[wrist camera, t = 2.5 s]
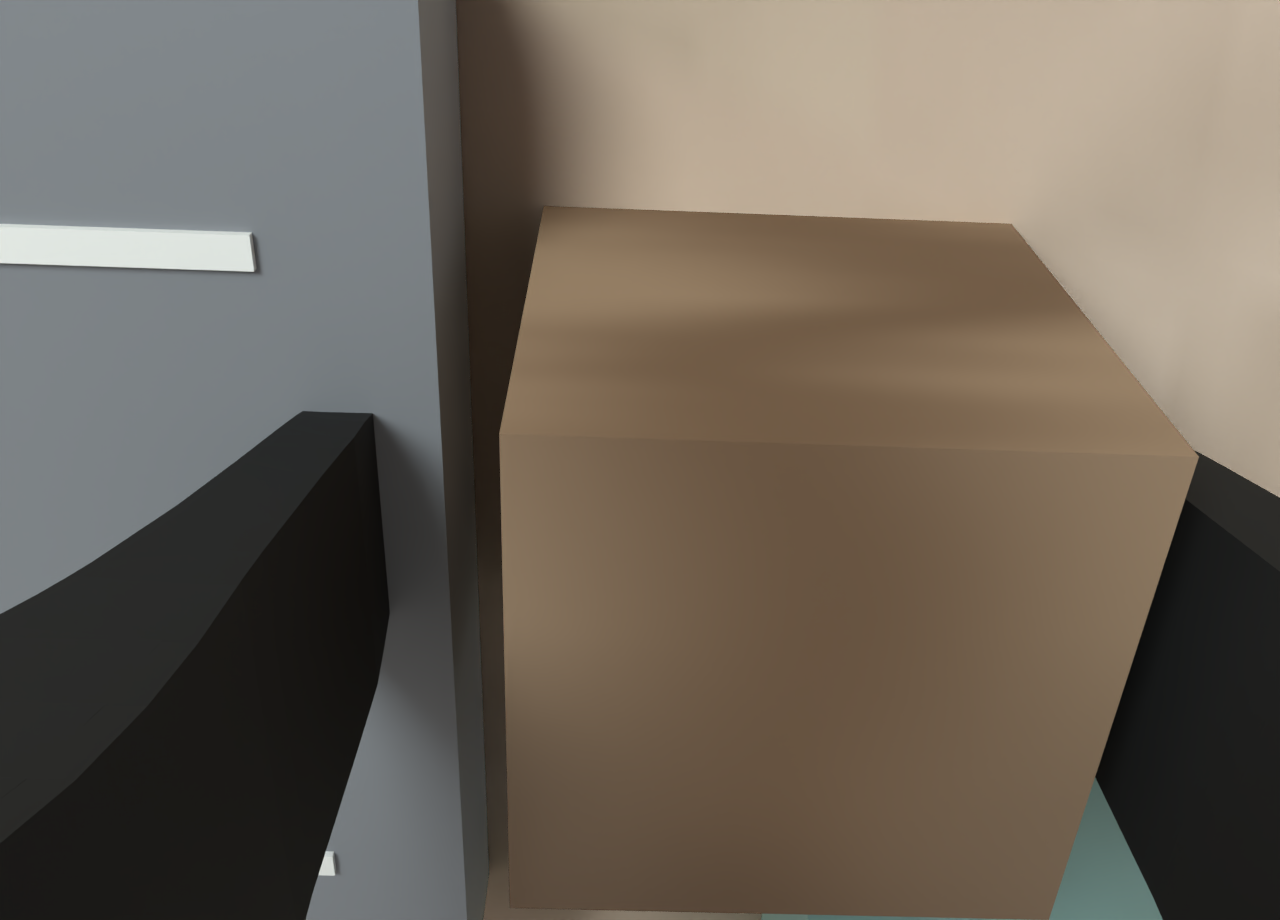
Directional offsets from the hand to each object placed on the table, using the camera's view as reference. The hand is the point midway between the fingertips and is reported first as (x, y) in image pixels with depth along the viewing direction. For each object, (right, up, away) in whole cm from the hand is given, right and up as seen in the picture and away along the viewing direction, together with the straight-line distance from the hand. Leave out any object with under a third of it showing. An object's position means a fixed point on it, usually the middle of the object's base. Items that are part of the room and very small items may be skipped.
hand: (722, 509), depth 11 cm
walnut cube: (0, +1, +2) cm, 2 cm away
